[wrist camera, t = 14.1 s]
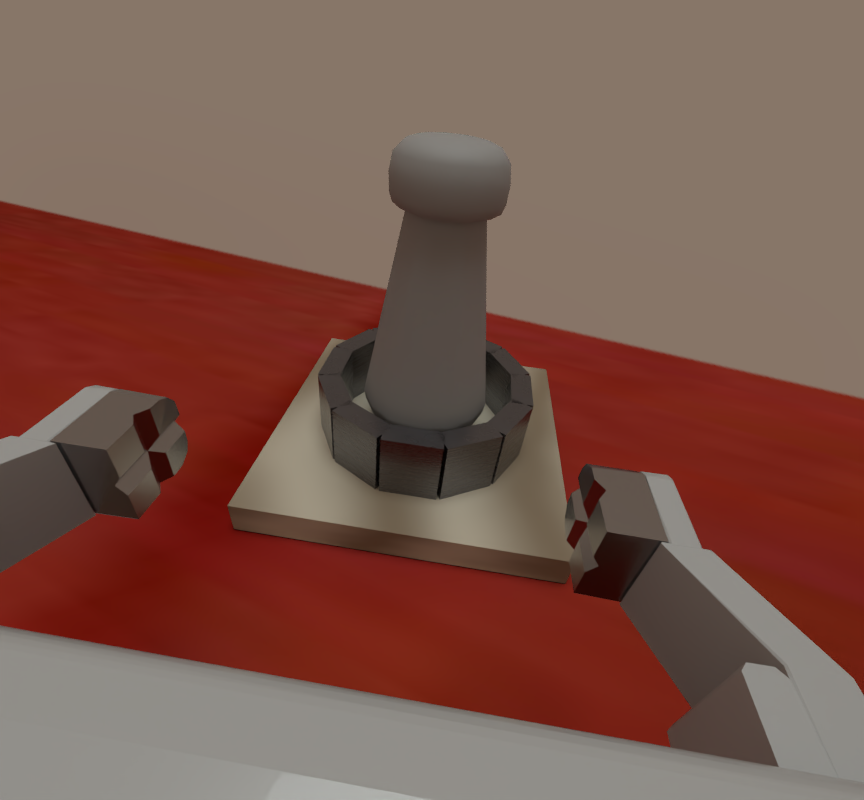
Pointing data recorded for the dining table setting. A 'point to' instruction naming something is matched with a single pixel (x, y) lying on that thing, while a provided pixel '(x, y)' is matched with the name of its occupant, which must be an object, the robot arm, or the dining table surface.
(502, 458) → the metal collar
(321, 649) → the dining table surface
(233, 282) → the dining table surface
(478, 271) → the salt shaker
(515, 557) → the birch stand
